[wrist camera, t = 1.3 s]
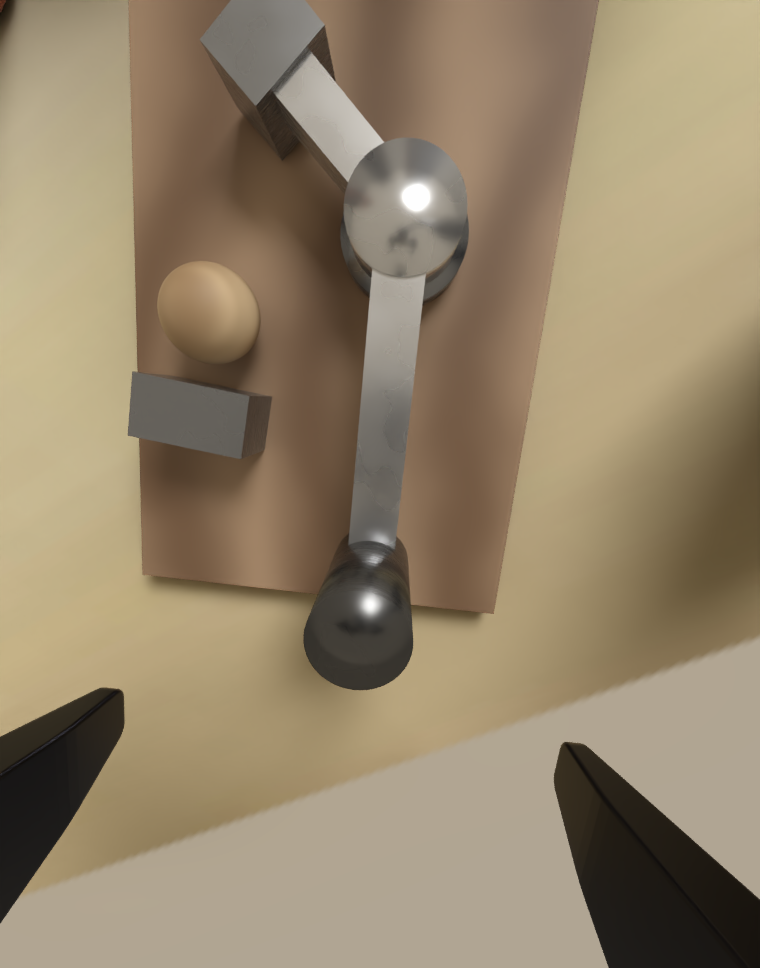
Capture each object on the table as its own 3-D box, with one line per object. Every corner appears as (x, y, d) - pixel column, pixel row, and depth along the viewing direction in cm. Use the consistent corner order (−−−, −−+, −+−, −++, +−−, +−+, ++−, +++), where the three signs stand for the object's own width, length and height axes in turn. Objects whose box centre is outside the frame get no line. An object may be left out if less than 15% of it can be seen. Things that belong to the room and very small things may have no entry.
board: (589, -5, 15) (605, -38, 14) (488, 601, 21) (493, 613, 19) (147, -39, 16) (126, -74, 15) (156, 564, 21) (142, 574, 20)
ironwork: (413, 147, 16) (416, 93, 13) (490, 255, 16) (508, 226, 14) (144, 403, 18) (98, 404, 15) (220, 488, 19) (190, 503, 16)
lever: (239, 37, 15) (103, -272, 8) (478, 56, 15) (548, -243, 8) (227, 569, 19) (132, 663, 12) (412, 589, 19) (419, 697, 12)
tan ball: (274, 281, 17) (241, 250, 13) (270, 371, 18) (238, 364, 14) (188, 273, 17) (133, 240, 13) (188, 363, 18) (136, 354, 14)
